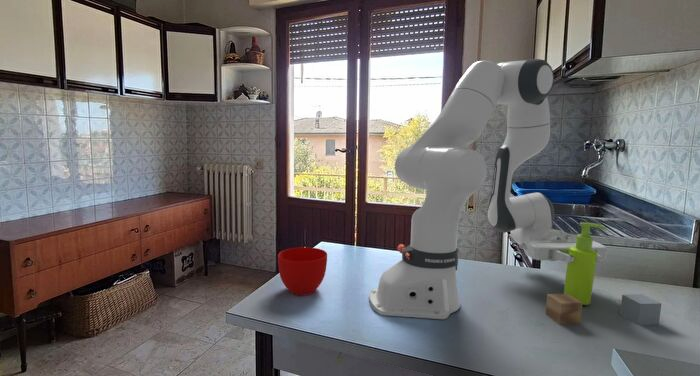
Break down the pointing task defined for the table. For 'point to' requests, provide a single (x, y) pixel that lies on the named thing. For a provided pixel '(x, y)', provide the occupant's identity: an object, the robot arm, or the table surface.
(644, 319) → the slate-grey block
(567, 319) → the walnut block
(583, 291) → the soap dispenser
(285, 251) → the ceramic cup
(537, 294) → the table surface
